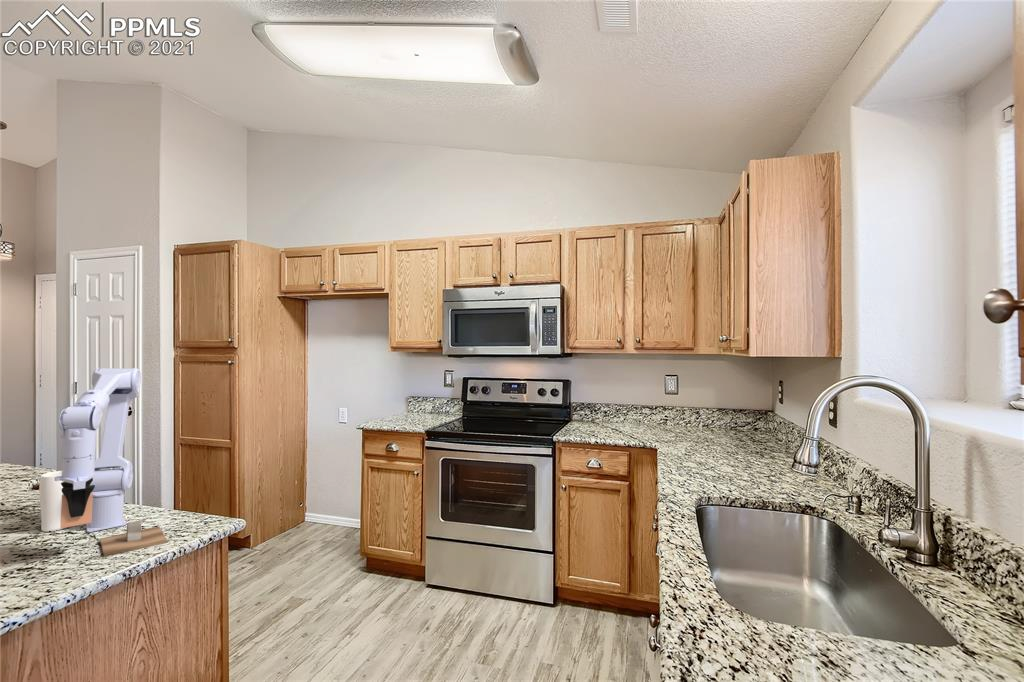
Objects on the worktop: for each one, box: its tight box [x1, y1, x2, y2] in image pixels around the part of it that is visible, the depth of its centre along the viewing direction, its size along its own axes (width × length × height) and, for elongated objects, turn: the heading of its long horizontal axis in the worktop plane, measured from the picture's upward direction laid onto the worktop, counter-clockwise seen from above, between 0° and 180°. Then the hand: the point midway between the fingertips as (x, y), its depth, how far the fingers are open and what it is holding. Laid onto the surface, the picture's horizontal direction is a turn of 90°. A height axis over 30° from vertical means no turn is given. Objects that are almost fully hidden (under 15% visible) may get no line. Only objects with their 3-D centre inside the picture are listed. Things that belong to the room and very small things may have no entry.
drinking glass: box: [38, 470, 65, 533], centre depth 124 cm, size 7×7×15 cm
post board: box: [99, 520, 168, 558], centre depth 116 cm, size 12×12×5 cm
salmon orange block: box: [61, 492, 93, 529], centre depth 108 cm, size 5×5×7 cm
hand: (76, 513), depth 108 cm, fingers closed on salmon orange block, 5 cm apart
